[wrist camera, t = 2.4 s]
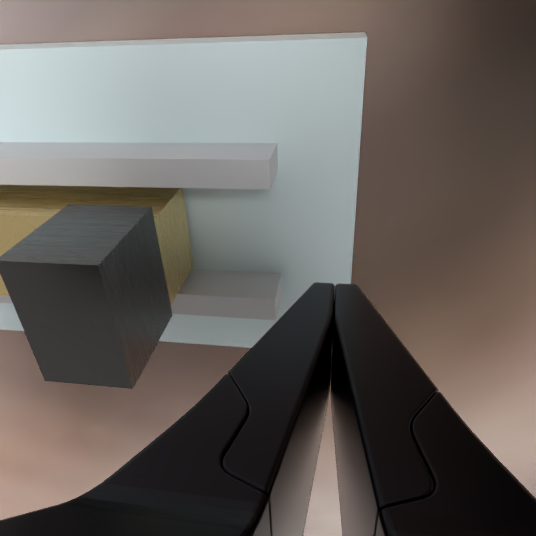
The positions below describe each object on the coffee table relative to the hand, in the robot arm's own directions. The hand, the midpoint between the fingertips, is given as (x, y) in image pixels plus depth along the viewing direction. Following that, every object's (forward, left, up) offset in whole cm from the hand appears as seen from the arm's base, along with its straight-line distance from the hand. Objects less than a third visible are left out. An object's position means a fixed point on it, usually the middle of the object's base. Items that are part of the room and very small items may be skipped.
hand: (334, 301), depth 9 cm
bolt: (+9, 0, -3) cm, 10 cm away
